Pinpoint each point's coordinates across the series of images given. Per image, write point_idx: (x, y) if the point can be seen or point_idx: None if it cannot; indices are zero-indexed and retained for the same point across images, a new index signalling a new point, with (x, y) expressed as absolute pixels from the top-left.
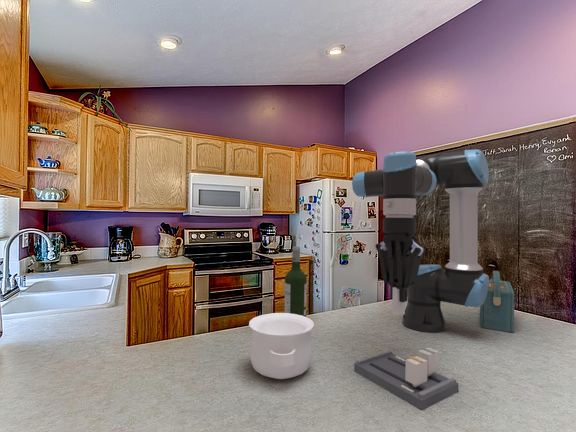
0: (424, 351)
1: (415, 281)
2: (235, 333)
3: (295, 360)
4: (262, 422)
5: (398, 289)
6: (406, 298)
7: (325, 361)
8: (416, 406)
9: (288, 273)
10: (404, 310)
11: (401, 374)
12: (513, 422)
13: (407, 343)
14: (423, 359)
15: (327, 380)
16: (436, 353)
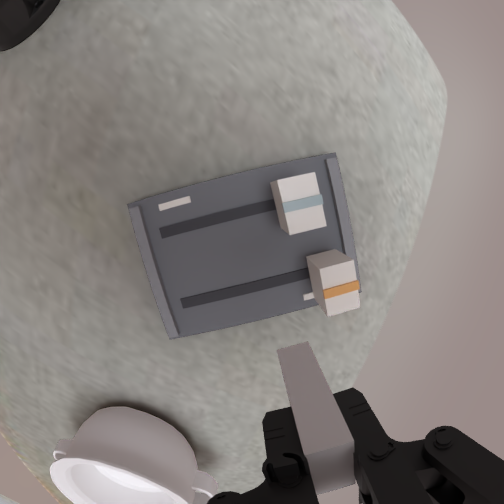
0: (300, 218)
1: (473, 445)
2: (11, 432)
3: (196, 471)
4: None
5: (352, 474)
6: (364, 403)
7: (117, 363)
8: None
9: None
10: (312, 353)
11: (255, 261)
12: (427, 156)
13: (71, 93)
14: (344, 265)
15: (200, 396)
16: (316, 184)
